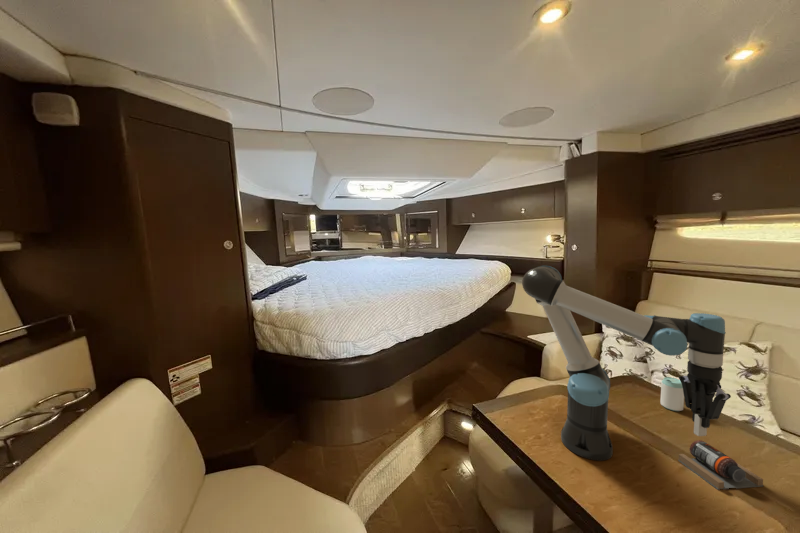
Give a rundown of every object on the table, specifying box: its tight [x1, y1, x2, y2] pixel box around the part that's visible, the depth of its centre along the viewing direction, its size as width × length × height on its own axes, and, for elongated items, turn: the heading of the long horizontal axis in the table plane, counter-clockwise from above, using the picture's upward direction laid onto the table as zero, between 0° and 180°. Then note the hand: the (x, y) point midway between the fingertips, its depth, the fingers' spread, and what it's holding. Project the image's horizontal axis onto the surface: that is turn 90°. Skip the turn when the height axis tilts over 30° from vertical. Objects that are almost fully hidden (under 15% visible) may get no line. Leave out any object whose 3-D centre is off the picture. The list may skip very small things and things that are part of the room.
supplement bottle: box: [689, 439, 746, 482], centre depth 88 cm, size 6×6×11 cm
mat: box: [677, 453, 764, 491], centre depth 87 cm, size 14×11×2 cm
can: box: [659, 376, 685, 412], centre depth 121 cm, size 7×7×12 cm
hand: (700, 434), depth 92 cm, fingers closed
